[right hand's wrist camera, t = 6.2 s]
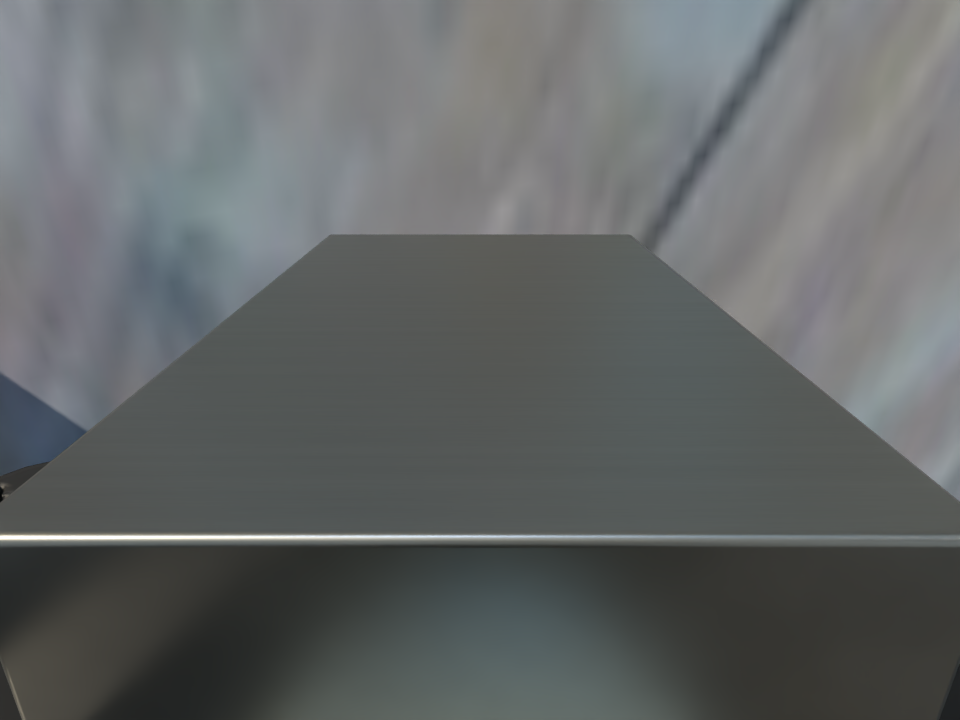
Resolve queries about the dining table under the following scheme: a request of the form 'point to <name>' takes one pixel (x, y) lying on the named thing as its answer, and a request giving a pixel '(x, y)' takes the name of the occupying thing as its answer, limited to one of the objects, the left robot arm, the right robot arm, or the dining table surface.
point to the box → (480, 512)
